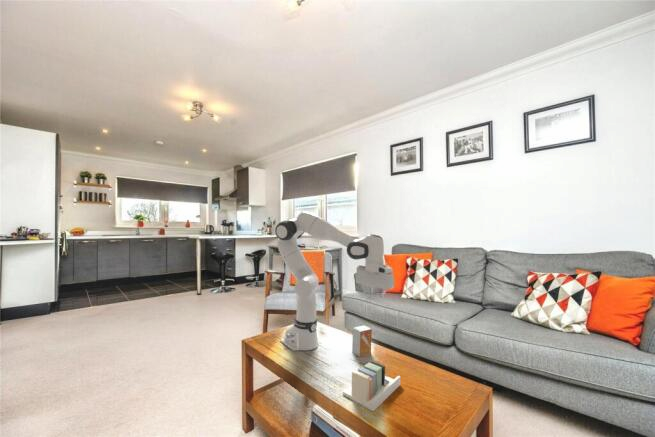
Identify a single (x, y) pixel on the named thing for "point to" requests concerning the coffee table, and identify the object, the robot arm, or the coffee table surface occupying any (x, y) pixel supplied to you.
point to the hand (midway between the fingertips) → (373, 295)
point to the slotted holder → (370, 387)
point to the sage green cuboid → (378, 372)
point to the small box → (361, 340)
